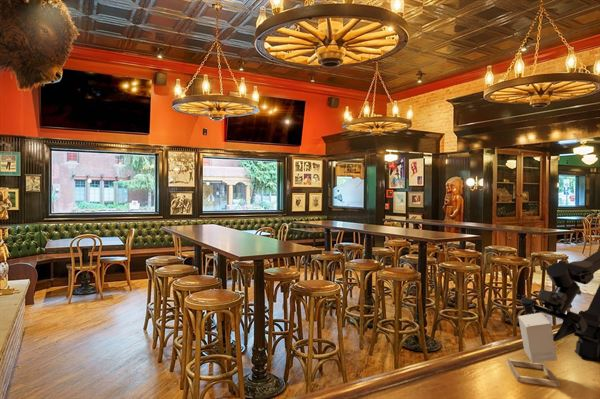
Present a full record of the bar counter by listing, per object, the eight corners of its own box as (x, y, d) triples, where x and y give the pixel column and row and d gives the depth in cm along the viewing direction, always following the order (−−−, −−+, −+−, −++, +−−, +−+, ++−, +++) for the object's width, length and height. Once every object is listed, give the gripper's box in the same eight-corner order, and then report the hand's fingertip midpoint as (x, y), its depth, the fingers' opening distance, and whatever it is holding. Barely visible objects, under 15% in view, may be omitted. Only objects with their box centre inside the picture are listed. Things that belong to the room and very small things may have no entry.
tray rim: (544, 368, 134) (544, 363, 134) (559, 387, 123) (560, 382, 123) (506, 363, 136) (506, 358, 136) (517, 381, 125) (517, 376, 125)
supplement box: (558, 360, 126) (551, 323, 124) (532, 363, 128) (525, 327, 125) (548, 347, 133) (542, 311, 131) (523, 350, 135) (517, 315, 133)
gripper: (526, 272, 138) (501, 309, 134) (586, 289, 122) (560, 331, 118) (538, 293, 143) (515, 328, 138) (597, 311, 126) (573, 352, 122)
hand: (538, 334), depth 129 cm, fingers closed on supplement box, 9 cm apart
